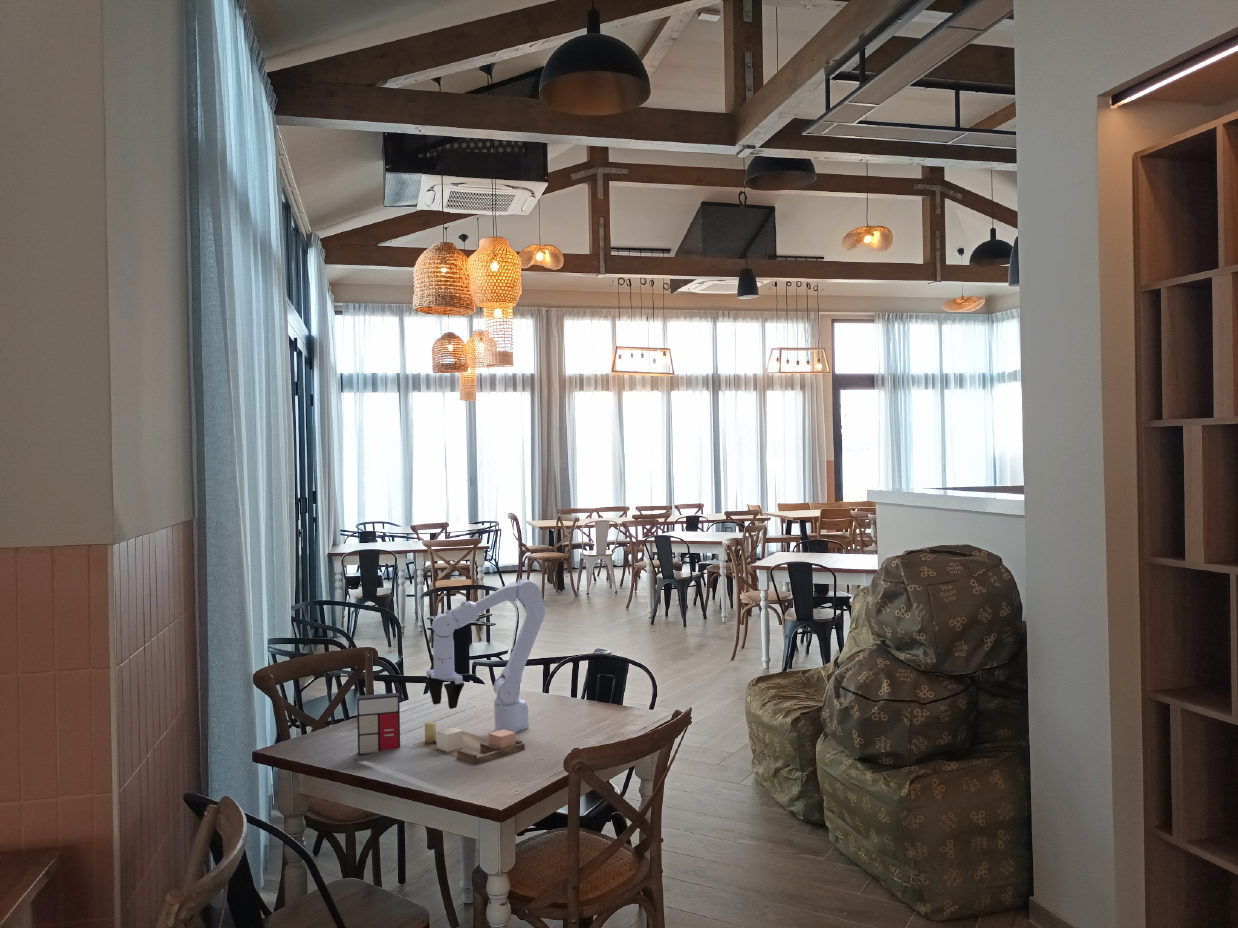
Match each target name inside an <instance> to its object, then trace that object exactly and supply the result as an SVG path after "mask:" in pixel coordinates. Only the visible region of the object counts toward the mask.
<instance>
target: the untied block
mask: <svg viewBox="0 0 1238 928" xmlns="http://www.w3.org/2000/svg"><path fill="white" fill-rule="evenodd" d="M516 734H517V732H512V731H508V730H504V729H503V730H499V731H496V732H495V731H493V732H490V733H488V739H489V744H490V745H493V746H497V747H500V749H503V748H507V747H510V746H513V745H516V739H517V737H516V736H517V735H516Z"/></svg>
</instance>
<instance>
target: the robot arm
mask: <svg viewBox="0 0 1238 928" xmlns="http://www.w3.org/2000/svg"><path fill="white" fill-rule="evenodd" d="M518 601H519V603H520V604H521V605H522V607H523V609H524V611H525V613H526V614H525V615H526V616H525V618H524V621H523V623H522V625H521V628H520V631H519V633H518V636H517V638H516V641H515V642H514V643H515V644H514V647H513V649H512V650H511V653H510V655H509V659H508V660H507V663H506V665H505V667H504V668H503V669H502V671H501V673H500V676H498V677H497V678H496V679H495V681H494V683H493V691H494V693H495V695H496V698H495V699H494V701H493V706H494V707H493V709H494V710H493V712H494V714H493V715H494V732H496V731H499V730H503V729H504V730H508V731H512V732H516V733H517V732H520V731H522V730H525V729H529V728H530V727H529V724H530V723H529V707H528V704H527V702H526V701H525V700H524V699H523V698H522V699H521V698H520V695H521V694H520V693H521V692H520V691H521V690H520V687H521V683H522V678H523V672H524V670H525V669H524V668H525V667H526V664H527V662H528V659H529V656H530V654H531V651H532V649H533V647H534V644H535V642H536V639H537V637H538V633H539V631H540V629H541V626H542V623H543V621H544V619H545V615H546V612H545V607H544V600H543V593H542V591H541V589H540V588H539V586H538V585H537V584H536V583H535V582H532V581H530V579H527V578H520V579H518V580H517V581H516V582H515V581H513V582H511V583H509V584H506V585H504V586H502V587H500V588H499V589H497V590H495V591H493V592H492V593H490V594H488V595H485V597H483V598H481V599H479V600H477V601H475V602H474V601H471V600H467V601H465V600H462V601H461V602H460V604H459V605H458V606H455V607H454V608H452V609H450V610H449V609H446V610H445V611H444V612H445V613H440V614H437V615H436V616H435V617H434V618H433V621H432V624H431V627H432V630H433V631H434V632H433V635H432V636H433V637H432V638H433V642H432V645H433V646H432V647H433V649H432V650H433V651H432V652H433V657H432V658H433V669H428V670H426V672H425V673H426V675H425V676H426V678H428V679H424V684H425V685H426V687H427V689H428V691H429V694H430V697H431V702H432V705H434V706H435V705H439V704H441V703H442V693H443V692H442V691H443V687H444V689H445V691H446V695H447V703H448V704H447V705H448V709H450V710H453V709H456V708H457V707H458V703H459V699H460V698H459V697H460V694H461V692H462V690H463V688H464V686H465V682H464V681H463V679H464V678H463V675H460V674H458V673H457V672H456V671H455V640H454V632H455V630H458V629H460V628H463V627H464V626H466V625H469V624H470V623H473V622H474V621H476V620H478V619H479V617H480V614H481V613H482V612H485V611H486V610H488V609H490V608H493V607H495V606H497V605H500V604H501V603H504V602H518ZM445 681H446V682H449V683H444V682H445Z"/></svg>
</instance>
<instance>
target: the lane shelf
mask: <svg viewBox="0 0 1238 928" xmlns="http://www.w3.org/2000/svg"><path fill="white" fill-rule="evenodd" d="M436 740H437V736H436ZM413 745H415V746H418V747H420V748H424V749H428V750H429V751H430V750H431V751H433V752H437V753H440V754H443V755H447V756H449V757H451V758H456V759H459V760H462V761H465V762H468V763H471V764H474V765H480V764H482V763H486V762H488V761H492V760H495V759H499V758H501V757H504V756H508V755H511V754H514V753H517V752H520V751H524V750H526V749H525V743H524V742H523V740H520V739H517V738H516V745H513V746H510V747H507V748H503V749H500V747H497V746H493V745H490V744H489V737H488V738H487V737H483V736H481V735H476V734H473V733H470V732H466V731H463V747H462V748H459V749H455V750H452V751H448V752H447V751H444V750H441V749H438V748H437V744H436V743H426V742H425V740H422V741H418V742H415V743H413Z"/></svg>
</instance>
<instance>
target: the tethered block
mask: <svg viewBox="0 0 1238 928" xmlns="http://www.w3.org/2000/svg"><path fill="white" fill-rule="evenodd" d="M463 732H464V731H463V729H460V728H456V727H453V726H451V727H448V728H444V729H440V730H439V729H438V730H437V722H435V721H427V722H425V723H424V741H425V742H426V743H436V744H437V748H438V749H441V750H444V751H447V752H448V751H452V750H455V749H459V748H462V747H463ZM436 737H437V740H436Z"/></svg>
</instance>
